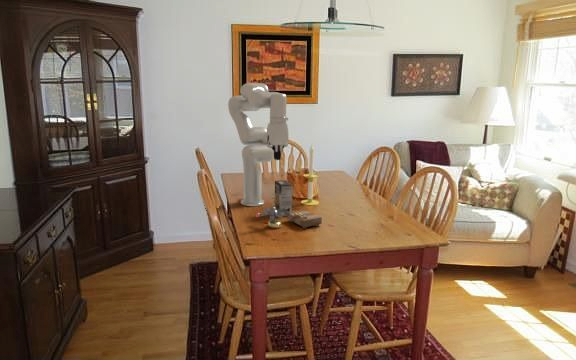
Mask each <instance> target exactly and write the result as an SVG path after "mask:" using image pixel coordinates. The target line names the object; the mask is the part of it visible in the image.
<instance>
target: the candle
mask: <svg viewBox="0 0 576 360" xmlns="http://www.w3.org/2000/svg"><path fill="white" fill-rule="evenodd" d="M314 155H315V148H314V146H313V144H311V146H310V148H309V163H308V164H309V168H308V173H305V174H302V176H303V177H304V178H308V181H307V184H308V186H307V188H308V189H307V199H304V200H301V201H300V203H301V204H302V205H303V206H317V205H319V204H320V201H318V200H315V199H313V197H314V196H313V193H314V192H313V191H314V179H316V178H319V176H320V175H319V174H318V173H317V174H316V173H314V160H315V159H314V157H315V156H314Z"/></svg>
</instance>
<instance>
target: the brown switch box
mask: <svg viewBox="0 0 576 360" xmlns="http://www.w3.org/2000/svg"><path fill="white" fill-rule="evenodd" d="M286 219H287V220H288V221H289V223H295V224H297V225H299V226H301V227H302V229H303V230H306V229H308V227H312V226H314V227H319V226H320V225H322V224H323V223H322V219H323V218H322V217H321V216H319V215H318V214H315V213H313V212H310V211H309V210H307V209H301V210H300V209H299V210H295V211H292V212H288V213H287V216H286Z"/></svg>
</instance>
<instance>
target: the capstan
mask: <svg viewBox="0 0 576 360" xmlns="http://www.w3.org/2000/svg"><path fill="white" fill-rule="evenodd" d="M262 209H263V210H264V211H265V212H264V211H263V212H256V213H255V218H260V217H263V216H264V217H265V216H269V221H268V223H267V224H268V225H267V226H268V227H269V228H271V229H279V228H281V227H282V221H281V220H277V219H276V218H279V219H283V217H284V216H283V215H281V214H279V213H281V212H287V209H280V210H277V209H275V205H274V206H270V207H269V208H268V207H266V206H263V207H262Z"/></svg>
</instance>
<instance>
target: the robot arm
mask: <svg viewBox="0 0 576 360" xmlns="http://www.w3.org/2000/svg"><path fill="white" fill-rule="evenodd" d="M239 89H240V90H239V91H240V95H234V96H231V97H230V98H229V99H228V102H227V103H228V104H227V107H228V112H229V114H230V117H231V119H232V120H233V122H234V125H235V127H236V130H237V135H238V137H239V140H240V143H241V144H242V146H243V145H244V146H243V148H242V150H241V158H242V168H243V193H242V196H243V199H241V200H240V204H241V205H242V206H247V207H259V206H262V205H264V204H265V200H264V199H262V185H263V184H262V181H263V180H262V175H263V173H262V169H261V167H260V166H259V164H260V163H268V162H272V161H273V160H275V161H280V160H281V159H282V158H281V157H282V152H283V149H284V148H287V147H288V144H289V128H288V123H287V122H288V121H289V118H288V117H287V94H285V93H280V92H276V91H270V90H269V88H268V86H267V84H266V83H262V82H260V83H259V82H256V83H255V82H248V83H247V82H246V83H244V84H243V85H241V87H240V88H239ZM261 109H269V122H268V123H267V128H265V127H263V126H254V125H253V122H252V120H251V118H250V117H249V116H248V114H246V113H244V112H257V111H259V110H261Z"/></svg>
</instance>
